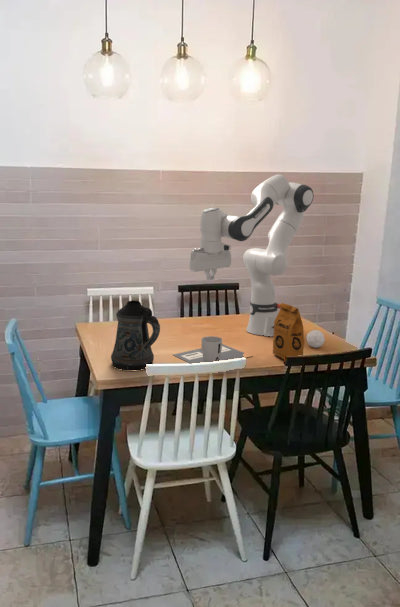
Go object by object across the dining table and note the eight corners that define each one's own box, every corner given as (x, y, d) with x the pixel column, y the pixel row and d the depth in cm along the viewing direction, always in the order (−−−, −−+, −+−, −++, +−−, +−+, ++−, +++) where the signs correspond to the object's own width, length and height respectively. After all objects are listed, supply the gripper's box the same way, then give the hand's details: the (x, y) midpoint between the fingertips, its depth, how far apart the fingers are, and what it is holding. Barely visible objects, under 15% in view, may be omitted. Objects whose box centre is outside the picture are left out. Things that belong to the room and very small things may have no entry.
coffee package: (285, 364, 214) (288, 310, 209) (269, 354, 225) (271, 303, 220) (306, 361, 218) (310, 308, 213) (289, 351, 229) (292, 301, 224)
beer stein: (115, 356, 219) (114, 296, 213) (163, 357, 218) (163, 297, 213) (107, 371, 203) (105, 306, 197) (158, 372, 202) (159, 307, 196)
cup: (219, 368, 208) (220, 343, 205) (199, 366, 209) (199, 341, 207) (223, 361, 215) (223, 337, 213) (203, 359, 217) (203, 335, 214)
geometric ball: (319, 353, 236) (331, 341, 233) (307, 349, 232) (319, 337, 228) (312, 340, 242) (323, 328, 238) (299, 336, 237) (311, 324, 233)
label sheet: (221, 344, 237) (221, 343, 237) (252, 356, 222) (252, 356, 222) (172, 355, 222) (172, 354, 222) (202, 369, 207) (202, 368, 206)
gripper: (195, 250, 218) (195, 284, 221) (233, 245, 230) (233, 277, 234) (186, 248, 223) (186, 281, 226) (223, 244, 235) (223, 275, 238)
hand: (210, 279), depth 230 cm, fingers closed
